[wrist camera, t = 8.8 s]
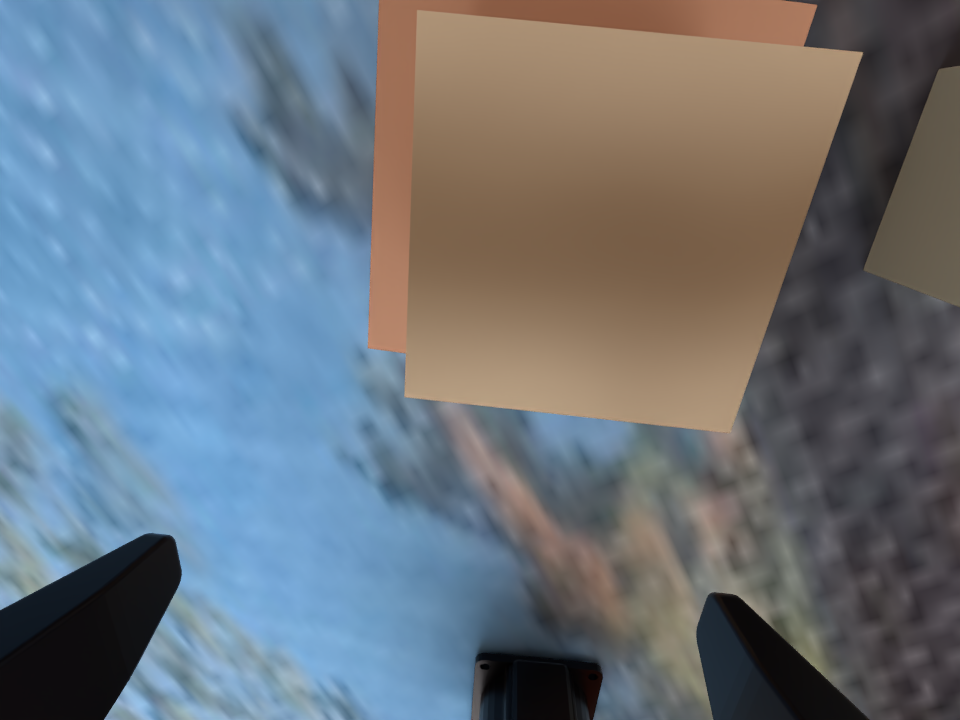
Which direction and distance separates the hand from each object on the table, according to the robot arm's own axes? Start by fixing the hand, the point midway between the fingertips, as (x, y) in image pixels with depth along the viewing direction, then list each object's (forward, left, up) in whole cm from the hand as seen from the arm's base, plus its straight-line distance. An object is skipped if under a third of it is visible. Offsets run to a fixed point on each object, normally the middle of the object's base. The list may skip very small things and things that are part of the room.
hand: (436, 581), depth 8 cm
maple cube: (+5, -2, -8) cm, 10 cm away
